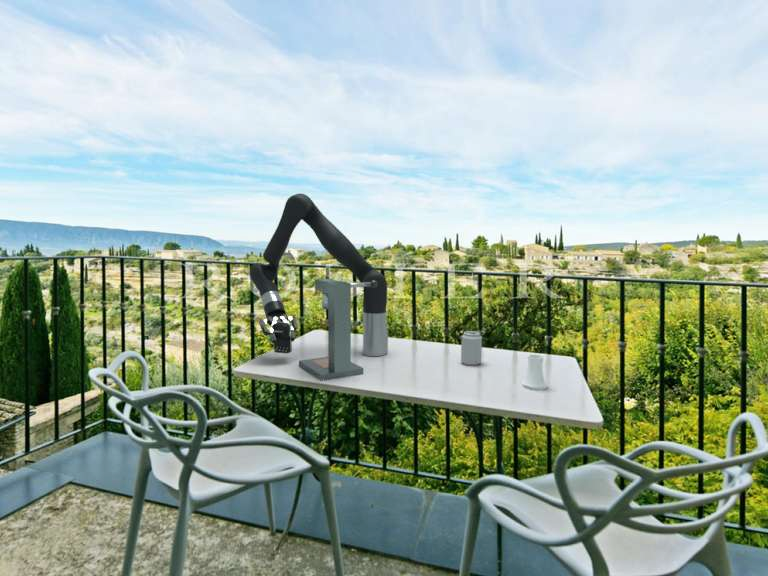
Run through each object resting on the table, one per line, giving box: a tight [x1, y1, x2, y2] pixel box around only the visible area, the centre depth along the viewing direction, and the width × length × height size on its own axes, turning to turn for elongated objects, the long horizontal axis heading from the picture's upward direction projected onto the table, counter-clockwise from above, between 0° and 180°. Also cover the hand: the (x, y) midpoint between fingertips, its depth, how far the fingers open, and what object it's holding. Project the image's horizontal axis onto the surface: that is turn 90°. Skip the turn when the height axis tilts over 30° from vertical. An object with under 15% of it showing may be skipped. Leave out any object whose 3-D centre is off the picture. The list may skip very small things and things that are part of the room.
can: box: [460, 330, 483, 367], centre depth 185 cm, size 8×8×12 cm
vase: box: [521, 354, 547, 391], centre depth 158 cm, size 8×8×10 cm
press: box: [298, 278, 378, 381], centre depth 176 cm, size 27×20×32 cm
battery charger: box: [272, 322, 293, 354], centre depth 182 cm, size 7×4×11 cm, turn 69°
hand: (284, 341), depth 181 cm, fingers closed on battery charger, 6 cm apart
